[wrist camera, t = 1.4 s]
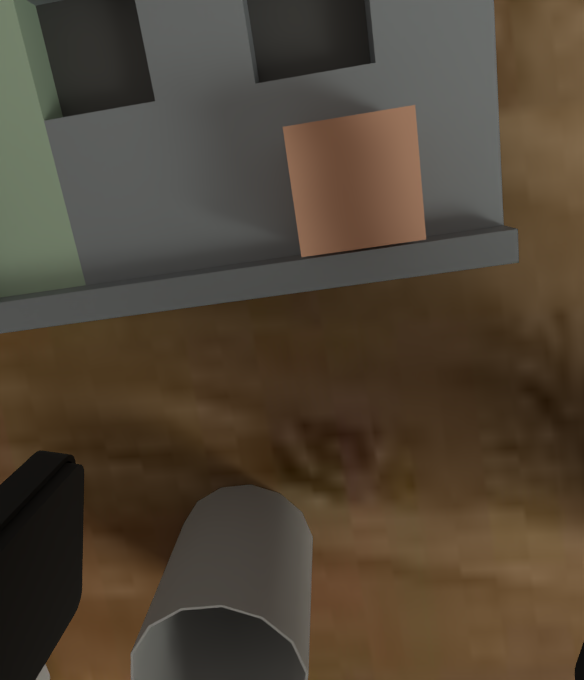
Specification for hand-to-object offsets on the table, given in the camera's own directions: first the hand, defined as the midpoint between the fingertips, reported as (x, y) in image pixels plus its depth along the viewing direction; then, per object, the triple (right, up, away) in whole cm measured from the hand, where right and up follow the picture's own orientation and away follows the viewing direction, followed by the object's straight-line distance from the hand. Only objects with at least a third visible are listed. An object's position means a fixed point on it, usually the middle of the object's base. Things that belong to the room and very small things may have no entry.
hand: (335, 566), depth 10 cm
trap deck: (-5, +15, +19) cm, 24 cm away
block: (+2, +11, +16) cm, 20 cm away
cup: (-4, -9, +26) cm, 27 cm away
